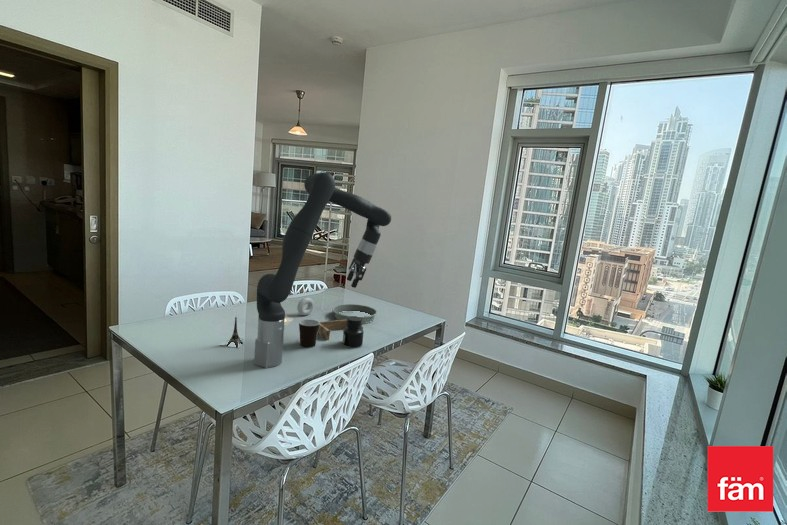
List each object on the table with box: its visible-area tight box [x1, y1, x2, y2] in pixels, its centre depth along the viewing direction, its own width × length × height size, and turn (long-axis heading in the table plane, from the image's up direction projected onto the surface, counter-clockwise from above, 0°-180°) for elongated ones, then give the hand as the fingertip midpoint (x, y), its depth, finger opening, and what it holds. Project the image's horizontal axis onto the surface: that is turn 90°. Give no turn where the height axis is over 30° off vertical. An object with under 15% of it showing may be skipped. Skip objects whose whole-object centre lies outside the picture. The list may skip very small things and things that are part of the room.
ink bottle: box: [342, 316, 364, 349], centre depth 166 cm, size 10×9×12 cm
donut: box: [296, 297, 315, 317], centre depth 199 cm, size 10×3×10 cm, turn 139°
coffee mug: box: [298, 318, 321, 349], centre depth 161 cm, size 12×9×10 cm
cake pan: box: [332, 303, 378, 324], centre depth 205 cm, size 25×25×4 cm
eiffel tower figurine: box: [225, 316, 244, 349], centre depth 152 cm, size 15×10×13 cm
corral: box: [318, 319, 364, 341], centre depth 178 cm, size 12×18×4 cm, turn 125°
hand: (350, 283), depth 167 cm, fingers open, 8 cm apart
